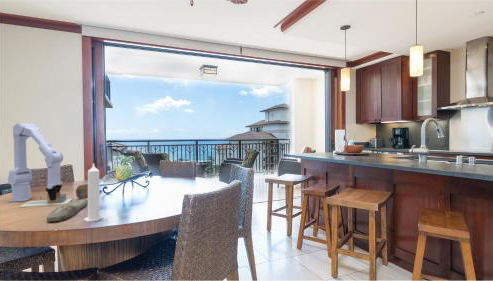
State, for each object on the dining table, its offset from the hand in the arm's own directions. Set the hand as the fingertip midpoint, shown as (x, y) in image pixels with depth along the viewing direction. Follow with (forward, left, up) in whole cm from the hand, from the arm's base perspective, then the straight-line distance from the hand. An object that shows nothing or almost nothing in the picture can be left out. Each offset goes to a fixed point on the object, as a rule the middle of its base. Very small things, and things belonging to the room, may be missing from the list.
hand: (54, 199), depth 149 cm
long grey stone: (+23, +13, -2) cm, 26 cm away
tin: (-10, +14, -2) cm, 17 cm away
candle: (+40, +26, -2) cm, 48 cm away
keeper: (0, 0, -2) cm, 2 cm away
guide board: (0, -3, -2) cm, 3 cm away
